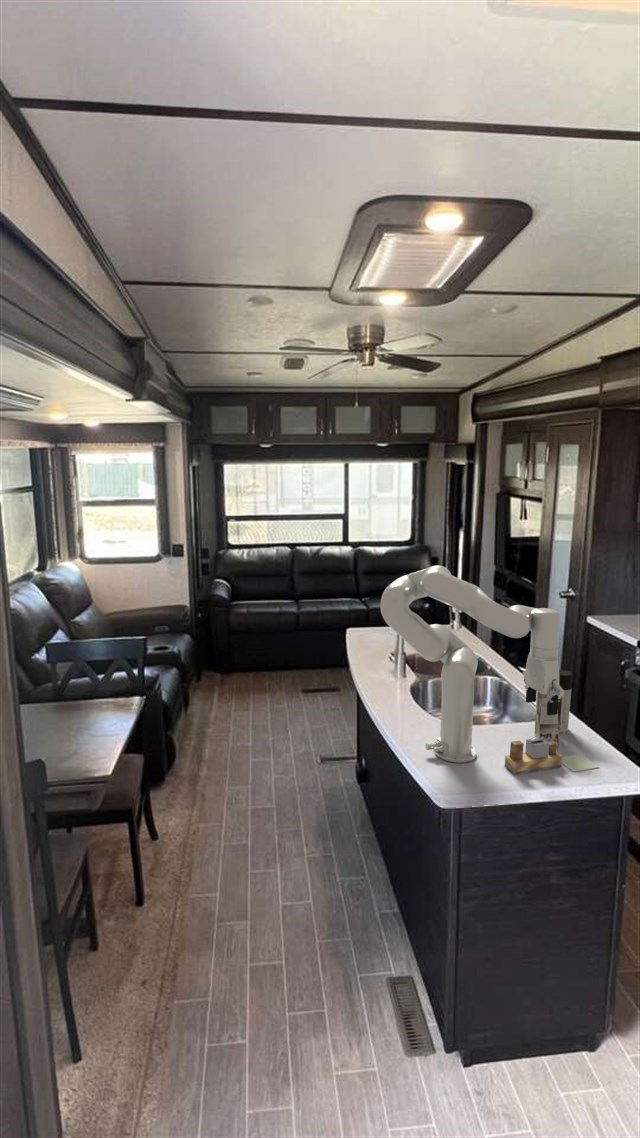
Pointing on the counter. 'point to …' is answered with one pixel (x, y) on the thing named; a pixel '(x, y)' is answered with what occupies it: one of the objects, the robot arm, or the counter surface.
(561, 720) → the spray can
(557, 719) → the coffee box
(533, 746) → the lever cap
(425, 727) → the counter surface
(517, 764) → the wooden peg block
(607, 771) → the counter surface
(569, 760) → the felt pad
